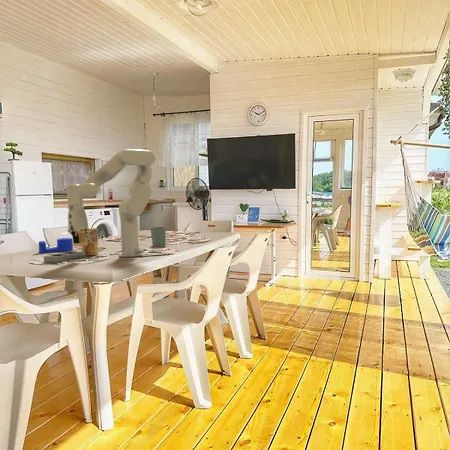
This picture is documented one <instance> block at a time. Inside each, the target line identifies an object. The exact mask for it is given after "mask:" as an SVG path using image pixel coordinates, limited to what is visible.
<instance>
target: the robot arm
mask: <svg viewBox="0 0 450 450" xmlns="http://www.w3.org/2000/svg"><path fill="white" fill-rule="evenodd" d="M155 161H156V156H155V153H154V152H153V151H151V150H148V149H146V150H145V149H127V148H126V149H123V150H119V151H117V152H116V153H115V154H114V155H113V156H112V157H111V158H110V159H108V161H106V162H105V164H104V165H102V166H101V167H100V168H98V169H97V171H95V172H94V173H93V174H91V175H89V177H88V178H87V179H86V180H85V181H84V182H82V184H77V183H74V184H68V185H66V188H65V189H66V196H67V197H66V198H67V210H68V214H67V223H68V224H67V225H68V229H67V232H68V233H69V234H70V235H71V236H72V240H73V243H75V244H78V243H79V240H78V236H77V231H78V230H85V234H86V231H87V229H88V228H89V223H88V217H87V213H86V210H85V209H84V208H85V207H84V198H94V197H96V196H97V195H98V194H99V188H100V187H101V186H103V185H104V184H105V183H107V182H110V181H112V180H113V179H114V178H116V177H117V176H118V175H119V174H120V173H121V172H122V171H123V170H124V169H126V167H128V166H136V170H137V172H136V174H135V177H134V179H133V181H132V183H131V185H130V187H129V188H128V195H129V196H130V199H124V200H122V201H121V203H120V204H119V206H118V214H119V219H120V243H121V252H120V253H119V254H118V257H121V258H123V257H124V258H133V257H140V256H142V255H143V253H144V252H145V249H141V246H139V245H140V244H139V223H138V222H139V221H138V217H139V216H141V215H142V214H143V212H144V211H145V209H146V206H147V204H148V202H149V200H150V198H151V195H152V188H151V186H150V182H151V180H152V177H153V170H152V165H154V163H156V162H155ZM74 231H75V232H74Z"/></svg>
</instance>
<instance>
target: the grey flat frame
mask: <svg viewBox="0 0 450 450" xmlns="http://www.w3.org/2000/svg"><path fill="white" fill-rule="evenodd" d="M82 258H85V255H84V252H82V251H78V250H77V251H76V250H75V251H74V250H72V251H66V252H58V253H53V254H51V255H45V256H43V263H50V264H51V263H53V264H60V263H63V262H69V261H72V260H77V259H82Z"/></svg>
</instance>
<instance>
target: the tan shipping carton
mask: <svg viewBox="0 0 450 450" xmlns="http://www.w3.org/2000/svg"><path fill="white" fill-rule="evenodd" d="M74 232H75V231H74ZM77 236H78V240H79V243H78V244H75V243H73V248H75V247H77V248H78V247H81V248H82V246H85V245H86V237H85V230H78V231H77Z"/></svg>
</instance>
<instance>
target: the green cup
mask: <svg viewBox="0 0 450 450" xmlns="http://www.w3.org/2000/svg"><path fill="white" fill-rule="evenodd" d="M166 231H167V227H165V226H156V227H151V228H150V234H151V243H152V244H151V245H152V247H164V246H166V245H167V243H166V242H167V241H166V237H167V235H166Z"/></svg>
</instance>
